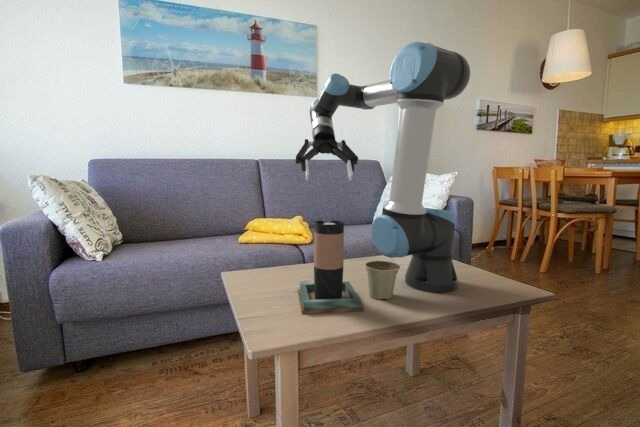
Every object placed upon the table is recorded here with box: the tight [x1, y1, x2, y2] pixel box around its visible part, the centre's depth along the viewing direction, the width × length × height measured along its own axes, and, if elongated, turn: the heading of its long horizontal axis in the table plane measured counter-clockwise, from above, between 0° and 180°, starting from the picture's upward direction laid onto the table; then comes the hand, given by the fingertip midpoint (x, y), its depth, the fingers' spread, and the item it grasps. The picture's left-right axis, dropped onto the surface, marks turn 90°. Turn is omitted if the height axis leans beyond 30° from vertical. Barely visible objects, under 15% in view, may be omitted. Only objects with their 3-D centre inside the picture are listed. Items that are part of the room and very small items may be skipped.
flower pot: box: [364, 260, 401, 300], centre depth 92 cm, size 9×9×9 cm
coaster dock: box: [297, 281, 364, 315], centre depth 89 cm, size 15×15×3 cm
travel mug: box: [313, 219, 345, 300], centre depth 88 cm, size 8×8×20 cm
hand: (329, 177), depth 104 cm, fingers open, 13 cm apart
